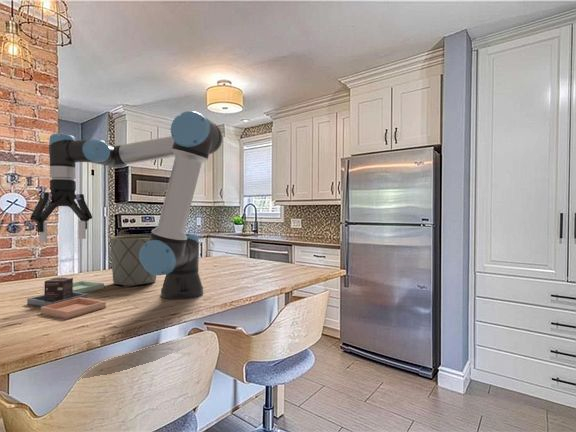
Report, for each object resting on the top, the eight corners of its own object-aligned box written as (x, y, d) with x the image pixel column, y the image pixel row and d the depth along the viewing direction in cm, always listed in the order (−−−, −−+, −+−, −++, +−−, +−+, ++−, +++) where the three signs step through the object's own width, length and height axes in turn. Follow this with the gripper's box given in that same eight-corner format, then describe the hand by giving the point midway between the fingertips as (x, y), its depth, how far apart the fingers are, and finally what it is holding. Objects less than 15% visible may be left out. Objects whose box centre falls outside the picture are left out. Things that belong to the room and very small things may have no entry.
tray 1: (87, 299, 117) (87, 294, 117) (51, 309, 106) (51, 303, 106) (64, 295, 122) (64, 290, 122) (27, 304, 111) (27, 298, 111)
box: (43, 303, 111) (43, 281, 111) (55, 298, 117) (55, 277, 117) (62, 302, 112) (62, 281, 111) (73, 298, 118) (73, 277, 117)
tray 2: (104, 288, 134) (104, 283, 134) (73, 295, 123) (73, 290, 123) (83, 285, 139) (83, 280, 139) (52, 292, 128) (52, 286, 128)
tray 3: (105, 307, 108) (105, 301, 108) (67, 319, 97) (67, 312, 97) (80, 303, 113) (80, 297, 113) (40, 313, 102) (40, 307, 102)
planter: (102, 283, 144) (102, 236, 143) (145, 276, 158) (145, 234, 158) (122, 290, 131) (122, 239, 131) (166, 282, 146) (167, 237, 146)
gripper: (88, 182, 130) (89, 237, 130) (15, 176, 106) (17, 243, 107) (102, 181, 127) (103, 237, 127) (31, 175, 104) (32, 244, 104)
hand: (63, 240), depth 117 cm, fingers open, 13 cm apart
